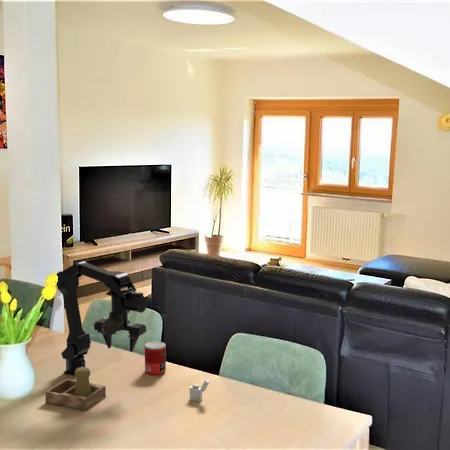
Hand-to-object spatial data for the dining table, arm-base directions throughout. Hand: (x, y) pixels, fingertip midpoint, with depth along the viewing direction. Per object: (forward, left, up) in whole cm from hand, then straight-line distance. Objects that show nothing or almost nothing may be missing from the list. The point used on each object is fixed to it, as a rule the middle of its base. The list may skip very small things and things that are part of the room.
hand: (120, 349), depth 222 cm
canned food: (+6, +15, -13) cm, 21 cm away
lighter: (+32, -1, -13) cm, 35 cm away
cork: (-4, -18, -12) cm, 22 cm away
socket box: (-7, -18, -13) cm, 23 cm away
